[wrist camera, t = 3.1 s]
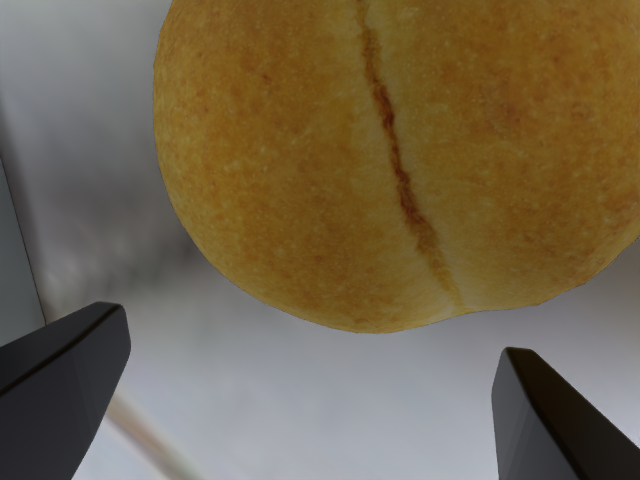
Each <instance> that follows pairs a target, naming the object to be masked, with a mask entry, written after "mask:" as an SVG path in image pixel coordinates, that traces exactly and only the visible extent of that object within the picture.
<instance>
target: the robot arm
mask: <svg viewBox="0 0 640 480" xmlns="http://www.w3.org/2000/svg"><path fill="white" fill-rule="evenodd" d="M130 351H131V340H130V335H129V329H128V323H127V317H126V312H125V309H124V307H123V306H122V305H120V304H118V303H109V302H95V303H93V304H91V305H89V306H86V307H84V308H82V309H80V310H78V311H76V312H74V313H71V314H69V315H67V316H65V317H63V318H61V319H59V320H57V321H54V322H52V323H50V324H48V325H46V326H44V327H42V328H39V329H37V330H35V331H33V332H31V333H29V334H27V335H25V336H22V337H20V338H18V339H16V340H14V341H12V342H10V343H7V344H5V345H3V346H1V347H0V480H71V479H72V477H73V476H74V474H75V472H76V470H77V469H78V467H79V465H80V463H81V461H82V460H83V458H84V456H85V454H86V452H87V450H88V449H89V447H90V445H91V443H92V441H93V439H94V437H95V435H96V433H97V430H98V428H99V426H100V424H101V422H102V419H103V417H104V415H105V412H106V410H107V408H108V405H109V403H110V401H111V398H112V396H113V394H114V391H115V389H116V387H117V384H118V382H119V380H120V377H121V375H122V373H123V370H124V368H125V366H126V363H127V361H128V358H129V355H130ZM492 411H493V421H494V431H495V442H496V452H497V463H498V473H499V480H640V449H639V448H638V447H637V446H636V445H635V444H634V443H633V442H632V441H631V440H630V439H629V438H628V437H626V436H625V435H624V434H623V433H622V432H621V431H620V430H619V429H618V428H617V427H616V426H615V425H614V424H612V423H611V422H610V421H609V420H608V419H607V418H606V417H605V416H604V415H603V414H602V413H601V412H599V411H598V410H597V409H596V408H595V407H594V406H593V405H592V404H591V403H590V402H589V401H588V400H587V399H585V398H584V397H583V396H582V395H581V394H580V393H579V392H578V391H577V390H576V389H575V388H574V387H573V386H571V385H570V384H569V383H568V382H567V381H566V380H565V379H564V378H563V377H562V376H561V375H560V374H558V373H557V372H556V371H555V370H554V369H553V368H552V367H551V366H550V365H549V364H548V363H547V362H546V361H544V360H543V359H542V358H541V357H540V356H539V355H538V354H537V353H536V352H534V351H533V350H531V349H525V348H515V347H506V348H505V349H504V350H503V351H502V353H501V356H500V360H499V364H498V368H497V371H496V375H495V379H494V383H493V387H492Z"/></svg>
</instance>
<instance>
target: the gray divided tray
mask: <svg viewBox="0 0 640 480" xmlns="http://www.w3.org/2000/svg"><path fill="white" fill-rule="evenodd" d="M44 326H46V324H45V321H44V317H43V313H42V310H41V306H40V302H39V298H38V295H37V291H36V287H35V284H34V280H33V276H32V273H31V269H30V265H29V261H28V258H27V254H26V250H25V247H24V243H23V239H22V236H21V232H20V228H19V225H18V221H17V217H16V213H15V210H14V206H13V202H12V199H11V195H10V191H9V188H8V184H7V180H6V176H5V173H4V169H3V165H2V162H1V158H0V347H1V346H3V345H5V344H7V343H10V342H12V341H14V340H16V339H18V338H20V337H22V336H25V335H27V334H29V333H31V332H33V331H35V330H37V329H39V328H42V327H44Z"/></svg>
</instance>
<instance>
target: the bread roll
mask: <svg viewBox="0 0 640 480" xmlns="http://www.w3.org/2000/svg"><path fill="white" fill-rule="evenodd" d="M153 128H154V137H155V143H156V150H157V156H158V163H159V169H160V172H161V175H162V178H163V181H164V184H165V187H166V190H167V193H168V196H169V199H170V202H171V205H172V207H173V209H174V211H175V213H176V215H177V217H178V219H179V221H180V222H181V224H182V225H183V226H184V228H185V229H186V231H187V232H188V234H189V235H190V237H191V238H192V240H193V241H194V243H195V244H196V246H197V247H198V248H199V250H200V251H201V252H202V254H203V255H204V257H205V258H206V259H207V260H208V261H209V262H210V263H211V264H212V265H213V266H214V267H215V268H216V269H217V270H218V271H219V272H220V273H221V274H222V275H224V276H225V277H226V278H228V279H229V280H230V281H231V282H233V283H234V284H235V285H237V286H238V287H239V288H241V289H242V290H244V291H245V292H247V293H249V294H250V295H252V296H253V297H255V298H257V299H258V300H260V301H262V302H263V303H266V304H268V305H270V306H273V307H275V308H277V309H279V310H282V311H284V312H287V313H289V314H291V315H294V316H296V317H299V318H301V319H304V320H307V321H310V322H314V323H317V324H320V325H323V326H326V327H330V328H333V329H339V330H344V331H349V332H354V333H373V334H380V333H392V332H397V331H402V330H409V329H413V328H417V327H422V326H426V325H429V324H432V323H435V322H438V321H442V320H445V319H449V318H452V317H456V316H459V315H463V314H468V313H474V312H479V311H485V310H510V309H515V308H520V307H525V306H535V305H539V304H541V303H543V302H545V301H547V300H549V299H551V298H553V297H555V296H557V295H559V294H561V293H563V292H565V291H568V290H570V289H572V288H575V287H577V286H580V285H582V284H585V283H586V282H587V281H589V280H590V279H591V278H592V277H594V276H595V275H596V274H598V273H599V272H600V271H602V270H603V269H604V268H606V267H607V266H608V265H609V264H610V263H611V262H612V261H613V260H614V259H615V258H616V257H617V256H618V255H619V254H620V253H621V252H622V251H623V250H624V249H626V248H627V247H628V246H629V245H630V244H631V243H633V242H634V241H635V240H636V239H637V238H638V236H639V234H640V0H173V2H172V4H171V7H170V9H169V12H168V14H167V16H166V19H165V21H164V24H163V26H162V28H161V31H160V35H159V41H158V46H157V52H156V57H155V61H154V84H153Z"/></svg>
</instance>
